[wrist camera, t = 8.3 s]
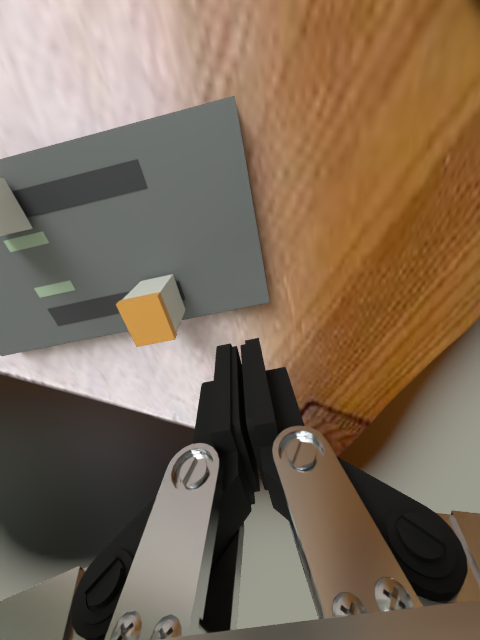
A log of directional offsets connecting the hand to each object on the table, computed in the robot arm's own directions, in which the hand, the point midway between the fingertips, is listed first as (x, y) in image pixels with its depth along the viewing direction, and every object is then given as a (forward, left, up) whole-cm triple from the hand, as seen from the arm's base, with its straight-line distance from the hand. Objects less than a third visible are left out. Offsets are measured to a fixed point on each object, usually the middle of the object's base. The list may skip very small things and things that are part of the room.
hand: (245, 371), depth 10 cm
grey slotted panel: (+10, -4, -12) cm, 16 cm away
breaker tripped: (+6, 0, -10) cm, 12 cm away
